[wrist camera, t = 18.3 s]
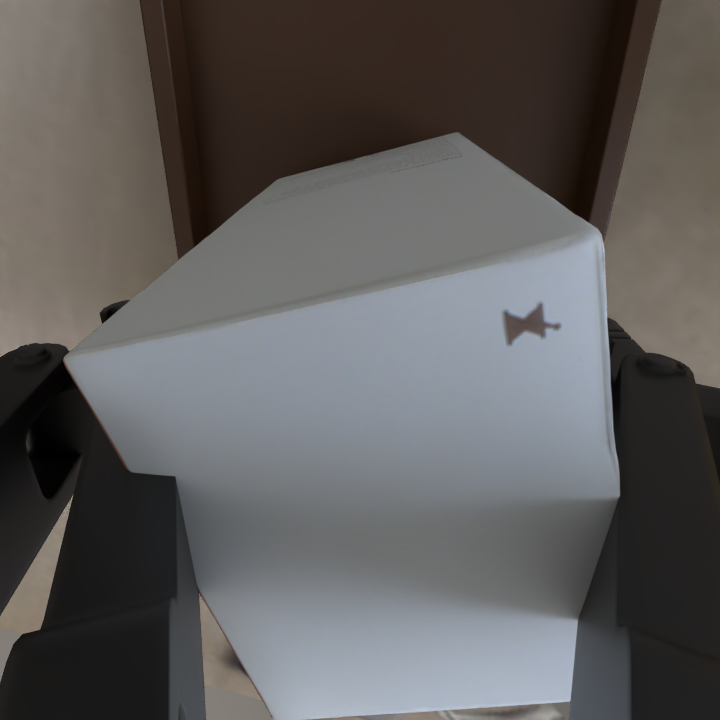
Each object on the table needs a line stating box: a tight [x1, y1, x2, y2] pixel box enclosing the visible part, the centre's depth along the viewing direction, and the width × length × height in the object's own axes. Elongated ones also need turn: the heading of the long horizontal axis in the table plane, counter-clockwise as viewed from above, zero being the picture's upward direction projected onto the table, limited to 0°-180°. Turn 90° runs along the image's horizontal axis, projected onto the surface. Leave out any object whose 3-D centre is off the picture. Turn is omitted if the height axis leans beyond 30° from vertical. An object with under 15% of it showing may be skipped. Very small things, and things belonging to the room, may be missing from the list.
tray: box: [140, 0, 662, 260], centre depth 17 cm, size 15×21×2 cm
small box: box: [63, 132, 620, 720], centre depth 13 cm, size 8×6×13 cm
